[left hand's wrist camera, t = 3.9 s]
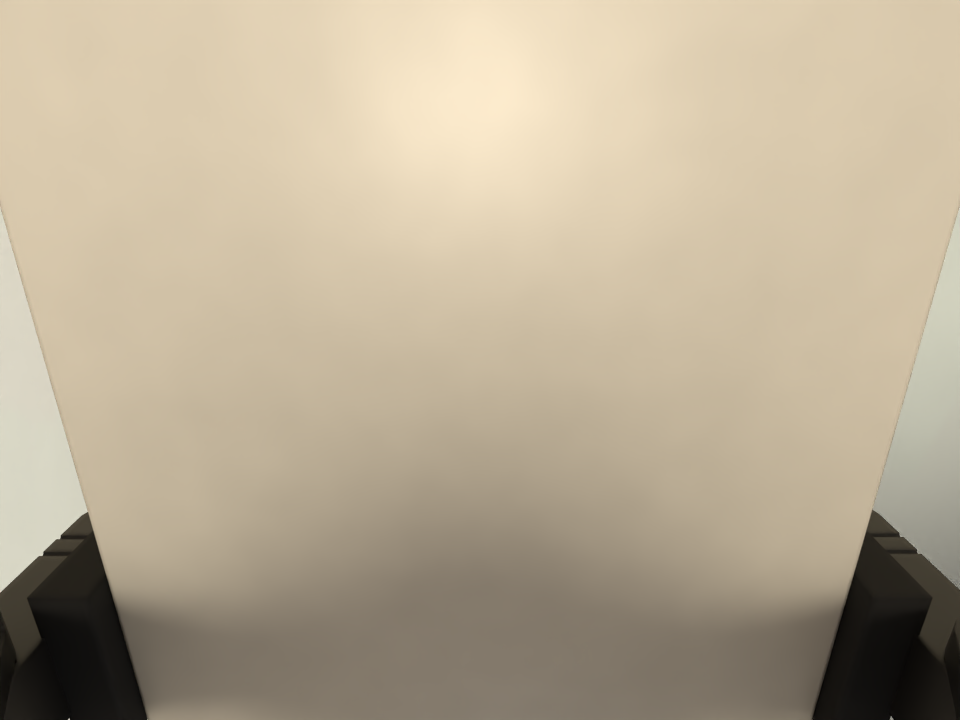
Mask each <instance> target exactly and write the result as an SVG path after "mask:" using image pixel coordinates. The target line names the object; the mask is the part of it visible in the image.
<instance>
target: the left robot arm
mask: <svg viewBox="0 0 960 720" xmlns="http://www.w3.org/2000/svg"><path fill="white" fill-rule="evenodd" d="M43 553H44V554H43V556H39V557H38V558H37V559H35V560H34V561H33V562H32V563H31V564H30V565H29V566H28V567H27V568H26V569H25V570H24V571H23V572H22V573H21V574H20V575H19V576H18V577H16V578H15V579H14V580H13V581H12V582H11V583H10V584H9V585H8V586H7V587H6V588H5V589H4V590H3V591H2V592H1V593H0V720H68V719H69V718H70V720H147V715H146V712H145V708H144V705H143V701H142V698H141V694H140V691H139V687H138V684H137V680H136V677H135V673H134V670H133V666H132V663H131V659H130V656H129V653H128V649H127V646H126V642H125V639H124V635H123V632H122V628H121V625H120V621H119V618H118V614H117V611H116V607H115V604H114V600H113V597H112V593H111V590H110V586H109V583H108V579H107V576H106V573H105V569H104V566H103V562H102V559H101V555H100V552H99V548H98V545H97V541H96V538H95V534H94V531H93V527H92V524H91V520H90V517H89V513H88V512H87V513H85V514H84V515H82V516H81V517H80V518H79V519H78V520H77V521H76V522H74V523H73V524H72V525H71V526H70V527H69V528H68V529H67V530H66V531H65V532H64V533H63V534H62V535H61V538H60V539H57V540H55V541H54V542H53V543H52V544H51V545H50V546H49V547H48V548H47V549H46V550H45V551H44V552H43ZM891 716H892V718H893V719H894V720H960V590H959V589H958V588H957V587H956V586H955V585H954V584H953V583H952V582H951V581H949V580H948V579H947V578H946V577H945V576H944V575H943V574H942V573H941V572H940V571H939V570H938V569H937V568H936V567H935V566H934V565H932V564H931V563H930V562H929V561H928V560H927V559H926V558H925V557H924V556H923V555H922V554H918V553H917V549H916V548H914V547H913V546H912V545H911V544H910V543H909V542H908V541H907V540H906V539H905V538H904V537H900V536H899V532H897V531H896V530H895V529H894V528H893V527H892V526H891V525H890V524H889V523H888V522H887V521H886V520H885V519H884V518H883V517H882V516H880V515H879V514H878V513H876V512H875V511H873V510H872V512H871V516H870V519H869V523H868V526H867V530H866V533H865V537H864V540H863V544H862V547H861V551H860V554H859V558H858V561H857V565H856V568H855V572H854V575H853V579H852V582H851V585H850V589H849V592H848V596H847V599H846V603H845V606H844V610H843V613H842V617H841V620H840V624H839V627H838V631H837V634H836V638H835V641H834V645H833V648H832V652H831V655H830V659H829V662H828V665H827V669H826V672H825V676H824V679H823V683H822V686H821V690H820V693H819V697H818V700H817V704H816V707H815V711H814V714H813V718H812V719H813V720H889V719H890V717H891Z"/></svg>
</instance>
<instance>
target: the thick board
mask: <svg viewBox="0 0 960 720" xmlns="http://www.w3.org/2000/svg"><path fill="white" fill-rule="evenodd" d="M959 206H960V0H0V207H1V211H2V214H3V218H4V221H5V225H6V228H7V232H8V235H9V239H10V242H11V246H12V249H13V253H14V256H15V260H16V263H17V267H18V270H19V274H20V277H21V280H22V284H23V287H24V291H25V294H26V298H27V301H28V305H29V308H30V312H31V315H32V319H33V322H34V326H35V329H36V333H37V336H38V340H39V343H40V347H41V350H42V353H43V357H44V360H45V364H46V367H47V371H48V374H49V378H50V381H51V385H52V388H53V392H54V395H55V399H56V402H57V406H58V409H59V413H60V416H61V420H62V423H63V427H64V430H65V433H66V437H67V440H68V444H69V447H70V451H71V454H72V458H73V461H74V465H75V468H76V472H77V475H78V479H79V482H80V486H81V489H82V493H83V496H84V500H85V503H86V506H87V510H88V513H89V517H90V520H91V524H92V527H93V531H94V534H95V538H96V541H97V545H98V548H99V552H100V555H101V559H102V562H103V566H104V569H105V573H106V576H107V579H108V583H109V586H110V590H111V593H112V597H113V600H114V604H115V607H116V611H117V614H118V618H119V621H120V625H121V628H122V632H123V635H124V639H125V642H126V646H127V649H128V653H129V656H130V659H131V663H132V666H133V670H134V673H135V677H136V680H137V684H138V687H139V691H140V694H141V698H142V701H143V705H144V708H145V712H146V715H147V719H148V720H812V718H813V714H814V711H815V707H816V704H817V700H818V697H819V693H820V690H821V686H822V683H823V679H824V676H825V672H826V669H827V665H828V662H829V659H830V655H831V652H832V648H833V645H834V641H835V638H836V634H837V631H838V627H839V624H840V620H841V617H842V613H843V610H844V606H845V603H846V599H847V596H848V592H849V589H850V585H851V582H852V579H853V575H854V572H855V568H856V565H857V561H858V558H859V554H860V551H861V547H862V544H863V540H864V537H865V533H866V530H867V526H868V523H869V519H870V516H871V512H872V509H873V505H874V502H875V499H876V495H877V492H878V488H879V485H880V481H881V478H882V474H883V471H884V467H885V464H886V460H887V457H888V453H889V450H890V446H891V443H892V439H893V436H894V432H895V429H896V426H897V422H898V419H899V415H900V412H901V408H902V405H903V401H904V398H905V394H906V391H907V387H908V384H909V380H910V377H911V373H912V370H913V366H914V363H915V359H916V356H917V352H918V349H919V346H920V342H921V339H922V335H923V332H924V328H925V325H926V321H927V318H928V314H929V311H930V307H931V304H932V300H933V297H934V293H935V290H936V286H937V283H938V279H939V276H940V272H941V269H942V266H943V262H944V259H945V255H946V252H947V248H948V245H949V241H950V238H951V234H952V231H953V227H954V224H955V220H956V217H957V213H958V210H959Z"/></svg>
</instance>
